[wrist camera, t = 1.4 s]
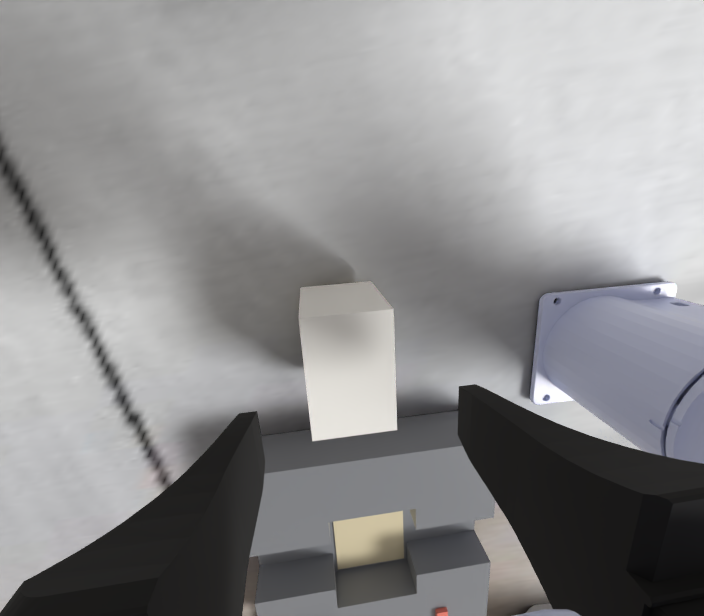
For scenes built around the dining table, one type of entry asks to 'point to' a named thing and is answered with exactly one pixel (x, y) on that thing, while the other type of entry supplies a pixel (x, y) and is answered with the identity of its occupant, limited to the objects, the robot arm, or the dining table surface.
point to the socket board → (372, 524)
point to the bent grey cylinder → (539, 607)
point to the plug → (348, 359)
